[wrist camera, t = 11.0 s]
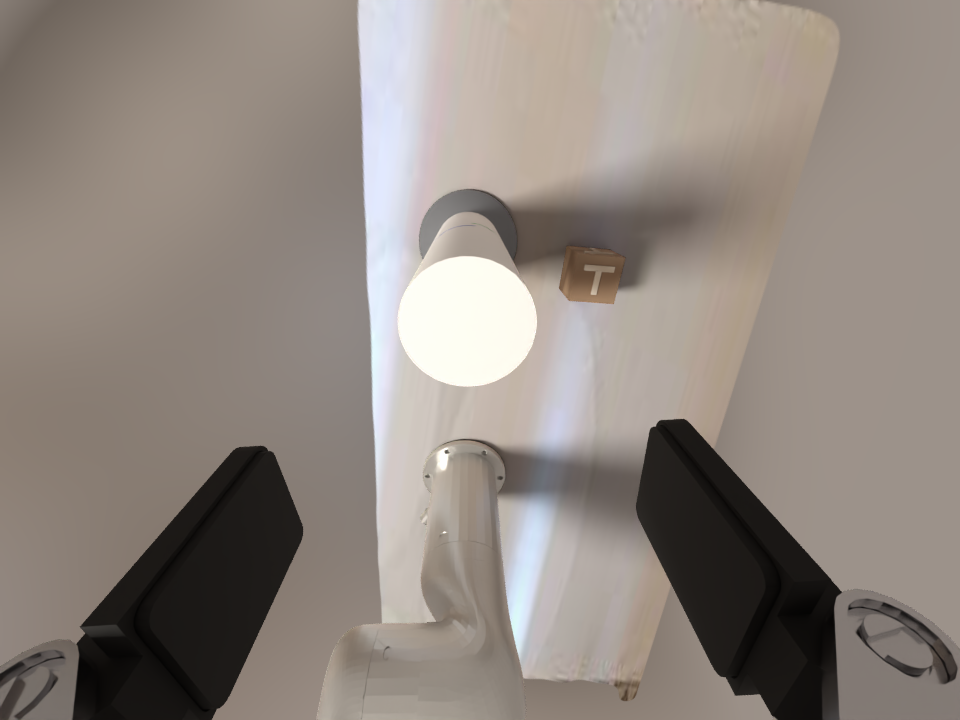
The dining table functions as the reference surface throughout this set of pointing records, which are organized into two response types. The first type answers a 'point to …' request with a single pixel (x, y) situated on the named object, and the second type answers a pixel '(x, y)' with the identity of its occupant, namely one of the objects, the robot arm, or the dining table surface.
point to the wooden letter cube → (591, 274)
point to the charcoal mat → (468, 203)
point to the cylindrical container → (467, 306)
